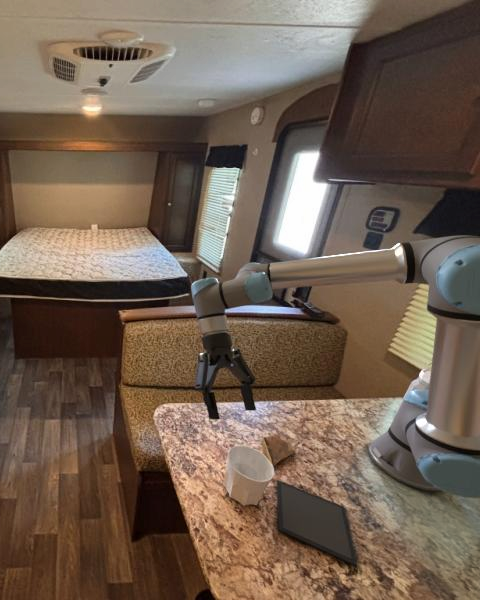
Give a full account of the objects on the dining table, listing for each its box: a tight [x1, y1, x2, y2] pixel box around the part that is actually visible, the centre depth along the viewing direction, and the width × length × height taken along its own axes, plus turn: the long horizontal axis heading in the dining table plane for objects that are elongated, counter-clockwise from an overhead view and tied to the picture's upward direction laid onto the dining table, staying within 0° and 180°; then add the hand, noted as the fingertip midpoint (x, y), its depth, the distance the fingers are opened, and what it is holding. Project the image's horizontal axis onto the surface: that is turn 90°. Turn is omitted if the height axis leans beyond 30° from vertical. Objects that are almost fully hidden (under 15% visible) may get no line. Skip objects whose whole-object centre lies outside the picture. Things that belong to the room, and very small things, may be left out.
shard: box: [261, 433, 296, 467], centre depth 91 cm, size 11×8×2 cm
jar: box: [395, 368, 431, 413], centre depth 99 cm, size 10×10×18 cm
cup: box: [222, 444, 275, 507], centre depth 77 cm, size 10×10×10 cm
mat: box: [276, 479, 358, 568], centre depth 73 cm, size 14×14×1 cm
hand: (233, 414), depth 82 cm, fingers open, 13 cm apart
